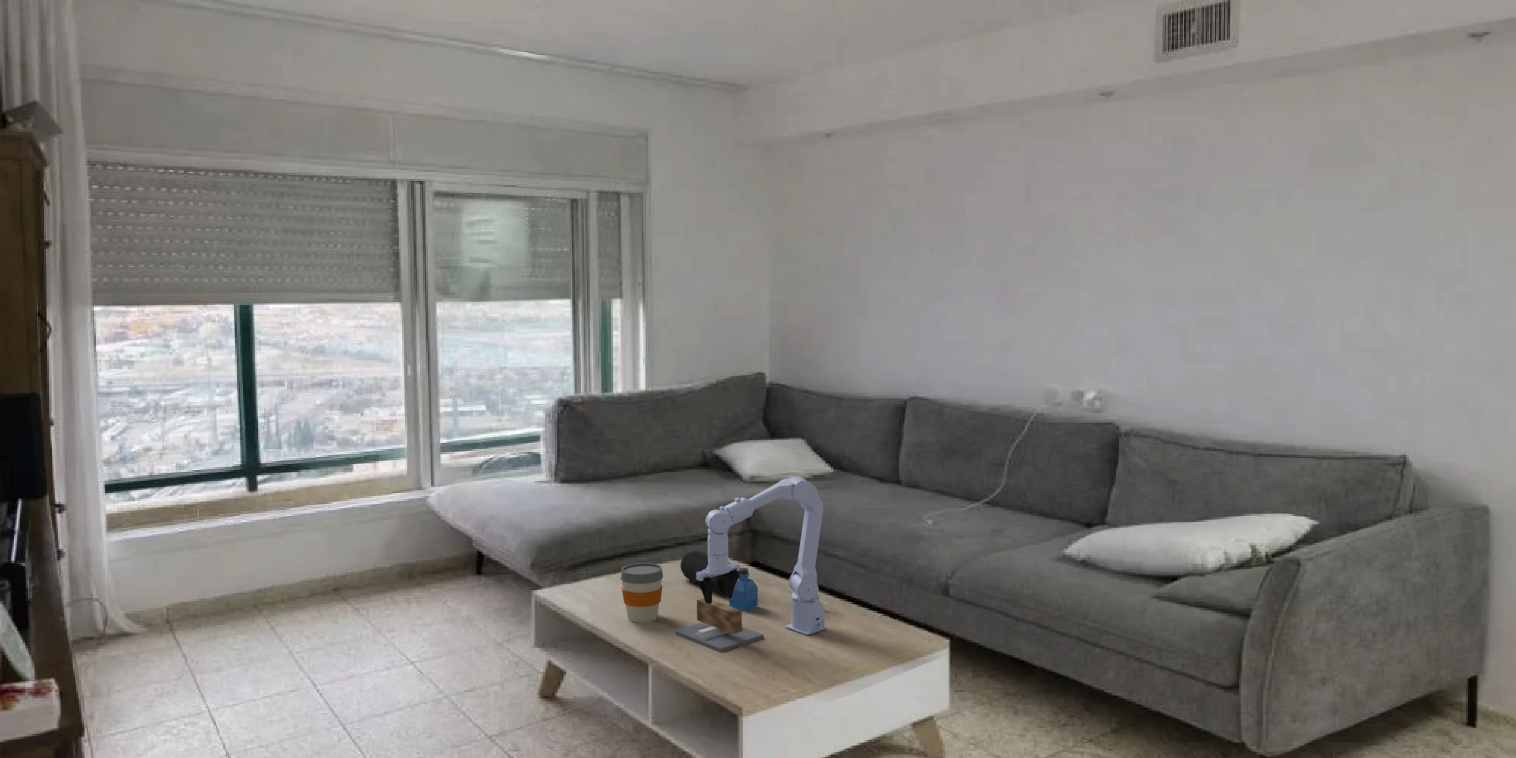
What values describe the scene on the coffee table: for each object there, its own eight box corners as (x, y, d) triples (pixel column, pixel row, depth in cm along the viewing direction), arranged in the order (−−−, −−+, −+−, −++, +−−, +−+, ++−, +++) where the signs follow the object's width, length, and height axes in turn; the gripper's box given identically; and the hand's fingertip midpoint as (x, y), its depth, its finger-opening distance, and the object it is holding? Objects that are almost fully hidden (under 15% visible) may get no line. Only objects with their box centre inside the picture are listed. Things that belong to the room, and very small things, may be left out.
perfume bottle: (745, 611, 316) (745, 573, 315) (729, 608, 320) (729, 570, 318) (757, 606, 321) (757, 568, 320) (741, 602, 325) (741, 565, 323)
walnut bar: (741, 631, 290) (741, 610, 289) (733, 633, 288) (733, 612, 287) (705, 617, 302) (704, 597, 301) (697, 620, 300) (696, 599, 299)
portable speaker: (678, 580, 349) (677, 551, 348) (703, 575, 355) (702, 546, 354) (720, 599, 328) (720, 568, 327) (746, 593, 334) (746, 563, 333)
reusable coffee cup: (656, 625, 304) (655, 575, 303) (615, 623, 307) (614, 573, 305) (668, 612, 316) (668, 563, 315) (629, 609, 319) (628, 561, 317)
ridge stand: (763, 637, 293) (763, 627, 293) (720, 652, 282) (720, 641, 282) (717, 620, 308) (717, 611, 308) (674, 633, 297) (674, 623, 297)
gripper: (728, 545, 301) (728, 591, 302) (688, 555, 291) (689, 602, 292) (744, 550, 295) (744, 596, 297) (705, 560, 286) (705, 608, 287)
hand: (718, 600), depth 294 cm, fingers open, 7 cm apart
